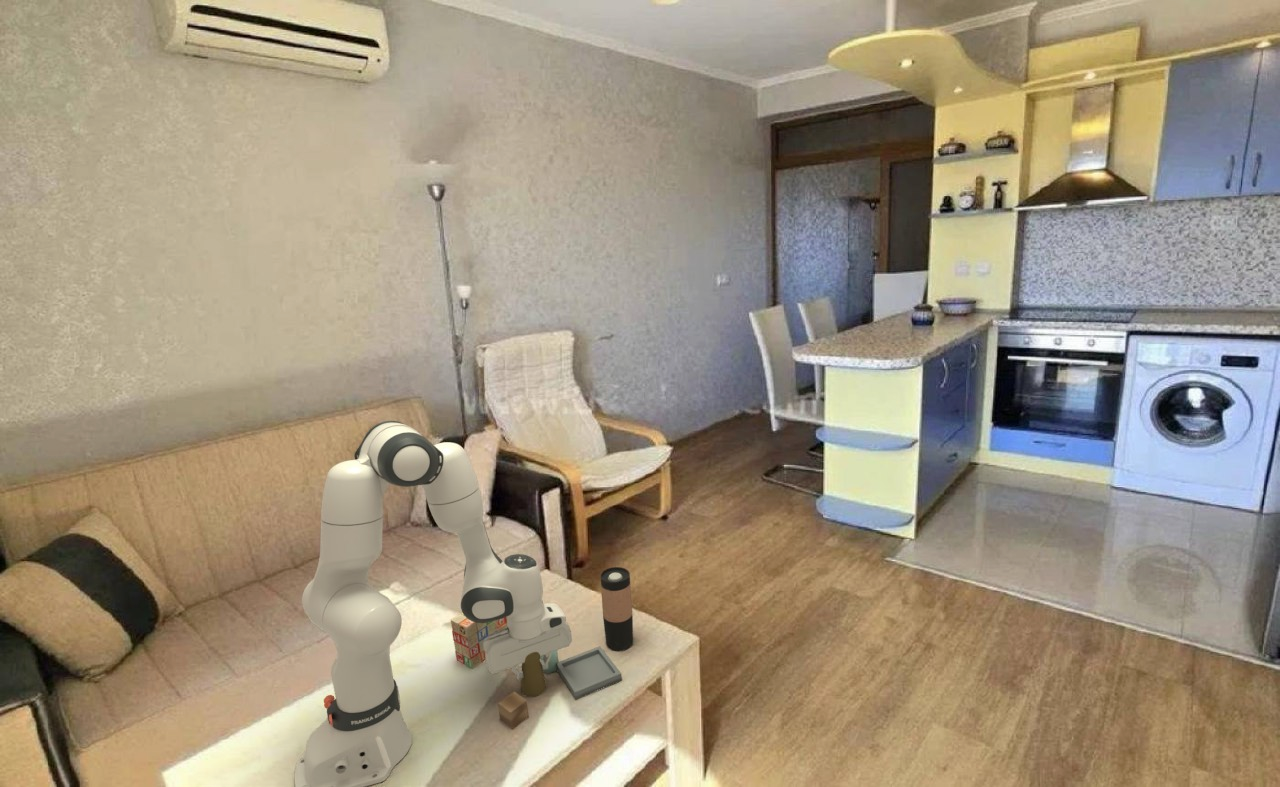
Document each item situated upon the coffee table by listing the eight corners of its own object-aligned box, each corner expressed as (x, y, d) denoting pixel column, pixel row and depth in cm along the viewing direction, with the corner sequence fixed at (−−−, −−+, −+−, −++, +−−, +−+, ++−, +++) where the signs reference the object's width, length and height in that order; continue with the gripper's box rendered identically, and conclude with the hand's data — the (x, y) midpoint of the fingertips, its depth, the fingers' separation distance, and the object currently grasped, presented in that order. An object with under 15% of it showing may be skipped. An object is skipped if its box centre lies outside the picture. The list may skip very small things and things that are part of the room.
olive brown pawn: (541, 698, 144) (536, 657, 141) (516, 695, 145) (512, 655, 143) (550, 680, 150) (546, 640, 147) (526, 677, 151) (522, 638, 148)
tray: (575, 699, 143) (574, 692, 143) (556, 669, 153) (556, 662, 153) (621, 680, 148) (621, 673, 148) (600, 652, 159) (600, 646, 158)
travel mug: (599, 642, 163) (593, 574, 158) (621, 629, 168) (617, 563, 163) (617, 656, 157) (612, 586, 152) (640, 642, 162) (636, 574, 157)
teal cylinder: (544, 675, 152) (543, 657, 150) (538, 665, 155) (536, 647, 154) (561, 668, 154) (559, 651, 152) (554, 658, 157) (553, 641, 156)
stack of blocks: (518, 618, 175) (513, 579, 172) (533, 626, 172) (529, 586, 169) (456, 661, 159) (450, 619, 156) (471, 670, 155) (466, 627, 152)
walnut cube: (512, 729, 135) (510, 712, 134) (500, 720, 138) (497, 703, 137) (528, 717, 139) (526, 700, 137) (516, 708, 142) (514, 691, 140)
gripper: (485, 644, 136) (492, 698, 139) (572, 614, 145) (576, 665, 148) (478, 629, 141) (485, 681, 145) (562, 601, 150) (566, 650, 154)
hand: (532, 673), depth 147 cm, fingers closed on olive brown pawn, 5 cm apart
